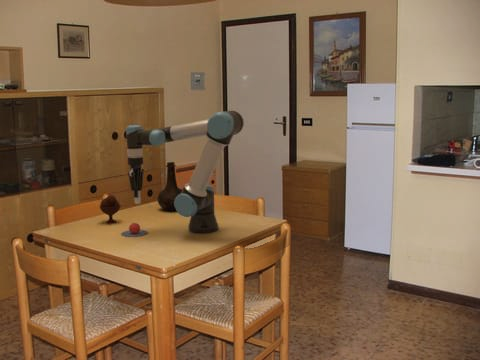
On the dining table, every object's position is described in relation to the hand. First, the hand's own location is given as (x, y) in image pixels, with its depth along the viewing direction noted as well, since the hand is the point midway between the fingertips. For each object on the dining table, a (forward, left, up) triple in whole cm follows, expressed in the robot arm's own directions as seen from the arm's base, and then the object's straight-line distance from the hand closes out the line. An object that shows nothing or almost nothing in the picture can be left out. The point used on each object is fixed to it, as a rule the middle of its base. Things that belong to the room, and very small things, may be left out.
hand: (137, 203), depth 285 cm
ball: (-2, +4, -12) cm, 13 cm away
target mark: (-1, +4, -14) cm, 15 cm away
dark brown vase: (+20, -46, -15) cm, 52 cm away
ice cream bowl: (+27, -4, -15) cm, 31 cm away
